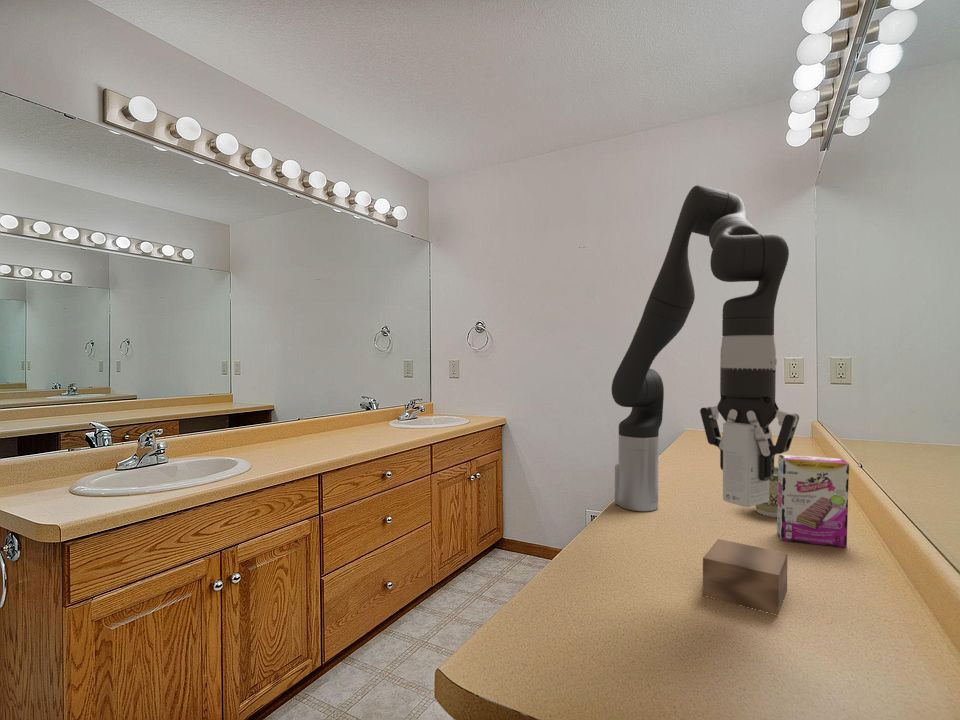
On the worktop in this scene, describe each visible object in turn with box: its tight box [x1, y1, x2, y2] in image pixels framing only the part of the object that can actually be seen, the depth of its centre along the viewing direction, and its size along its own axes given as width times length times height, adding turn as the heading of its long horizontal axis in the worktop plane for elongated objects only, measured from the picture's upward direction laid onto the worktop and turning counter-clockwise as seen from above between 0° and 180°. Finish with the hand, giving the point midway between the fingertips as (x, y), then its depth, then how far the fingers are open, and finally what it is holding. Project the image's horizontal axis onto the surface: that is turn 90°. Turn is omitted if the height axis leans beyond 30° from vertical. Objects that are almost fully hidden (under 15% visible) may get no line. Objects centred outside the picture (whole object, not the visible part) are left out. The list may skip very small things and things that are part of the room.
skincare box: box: [722, 422, 769, 508], centre depth 78 cm, size 6×4×12 cm
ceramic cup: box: [755, 466, 778, 518], centre depth 117 cm, size 13×10×10 cm
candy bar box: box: [776, 453, 850, 548], centre depth 101 cm, size 11×5×16 cm, turn 71°
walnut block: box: [702, 538, 788, 616], centre depth 79 cm, size 10×10×6 cm
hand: (746, 476), depth 78 cm, fingers closed on skincare box, 4 cm apart
